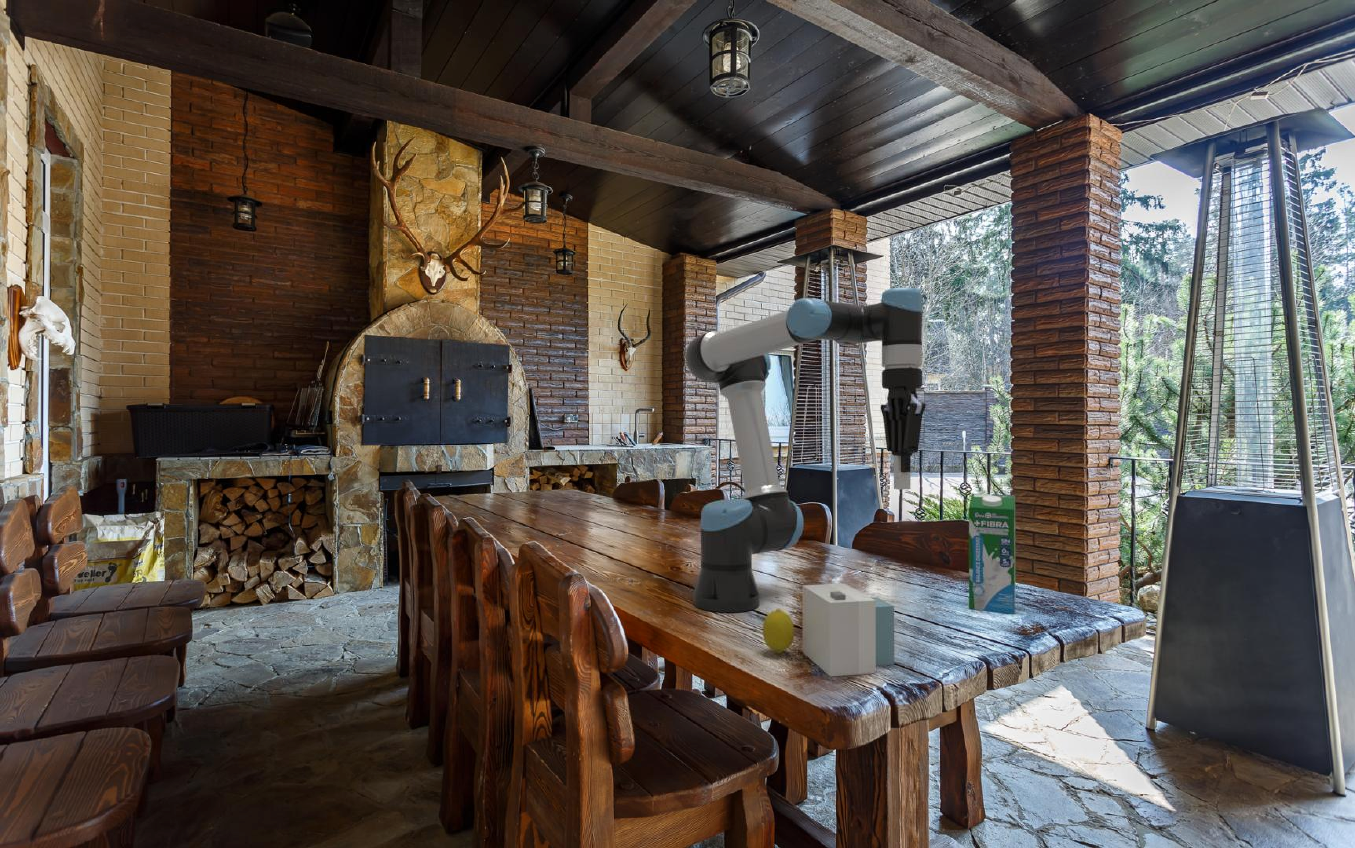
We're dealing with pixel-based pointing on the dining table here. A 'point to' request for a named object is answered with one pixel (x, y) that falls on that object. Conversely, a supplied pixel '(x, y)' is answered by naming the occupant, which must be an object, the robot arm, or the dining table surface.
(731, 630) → the dining table surface
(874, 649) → the socket
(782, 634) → the lemon
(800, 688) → the dining table surface
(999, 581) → the milk carton
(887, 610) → the plug
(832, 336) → the robot arm
